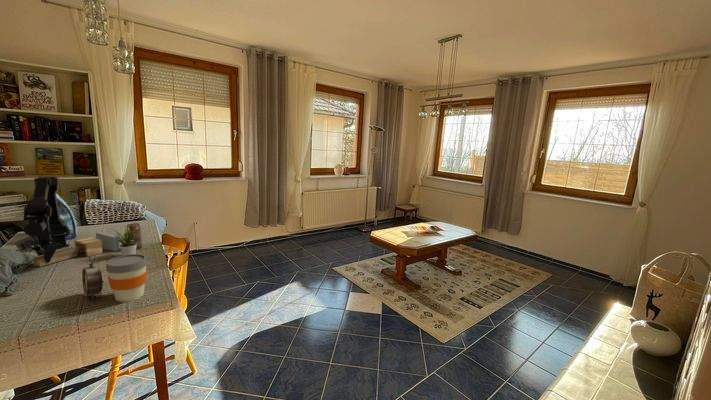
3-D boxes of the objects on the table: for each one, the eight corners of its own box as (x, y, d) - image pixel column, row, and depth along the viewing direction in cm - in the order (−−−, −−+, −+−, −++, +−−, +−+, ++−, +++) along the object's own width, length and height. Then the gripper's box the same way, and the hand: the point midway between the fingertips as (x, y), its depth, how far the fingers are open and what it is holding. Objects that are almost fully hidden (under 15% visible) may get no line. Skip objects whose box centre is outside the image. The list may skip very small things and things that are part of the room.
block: (75, 253, 153) (73, 240, 151) (90, 249, 159) (89, 236, 157) (87, 256, 149) (86, 243, 148) (102, 252, 155) (101, 240, 154)
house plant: (154, 254, 156) (151, 225, 153) (124, 263, 144) (121, 231, 141) (138, 249, 162) (135, 221, 159) (108, 257, 150) (105, 226, 147)
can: (135, 250, 160) (132, 226, 158) (125, 249, 162) (123, 225, 159) (144, 247, 166) (143, 223, 164) (135, 246, 167) (133, 222, 165)
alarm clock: (83, 293, 115) (78, 254, 112) (101, 289, 119) (96, 251, 116) (87, 304, 108) (83, 262, 105) (106, 299, 112) (102, 258, 109)
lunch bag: (37, 235, 177) (31, 193, 173) (75, 230, 190) (70, 190, 185) (39, 244, 163) (33, 198, 159) (80, 238, 176) (75, 195, 171)
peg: (34, 265, 136) (32, 257, 135) (71, 254, 150) (70, 247, 149) (40, 266, 135) (39, 258, 134) (77, 255, 149) (76, 248, 148)
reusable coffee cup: (117, 307, 106) (113, 269, 104) (103, 297, 113) (99, 260, 110) (155, 294, 117) (152, 258, 114) (140, 285, 123) (138, 251, 121)
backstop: (97, 246, 164) (95, 232, 162) (101, 245, 166) (99, 232, 164) (115, 251, 158) (113, 237, 157) (119, 250, 160) (118, 236, 159)
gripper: (5, 231, 131) (10, 263, 134) (27, 237, 124) (32, 271, 127) (38, 225, 141) (43, 255, 144) (60, 231, 135) (64, 263, 137)
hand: (45, 261), depth 138 cm, fingers closed on peg, 4 cm apart
